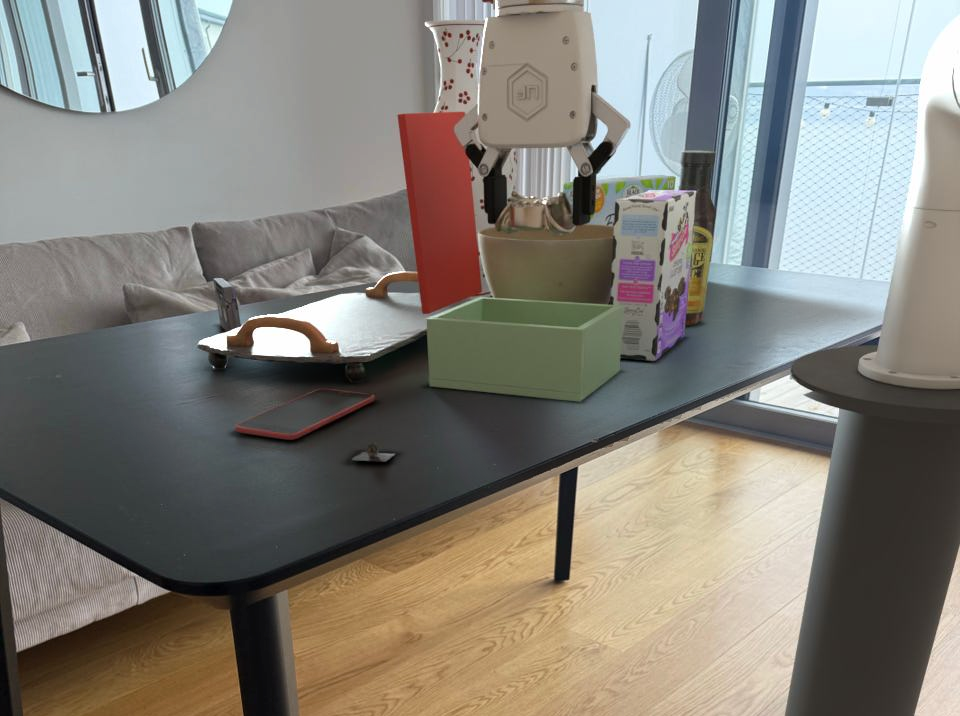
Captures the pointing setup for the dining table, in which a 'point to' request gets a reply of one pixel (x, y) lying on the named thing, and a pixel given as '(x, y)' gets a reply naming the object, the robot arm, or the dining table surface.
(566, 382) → the open storage box
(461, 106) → the vase
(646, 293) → the candy box
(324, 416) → the smartphone
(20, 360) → the dining table surface
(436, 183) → the lid
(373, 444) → the square plate with knob
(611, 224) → the snack box
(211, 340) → the serving tray
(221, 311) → the mini dv tape
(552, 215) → the ornament
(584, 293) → the flower pot
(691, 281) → the sauce bottle
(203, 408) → the dining table surface
